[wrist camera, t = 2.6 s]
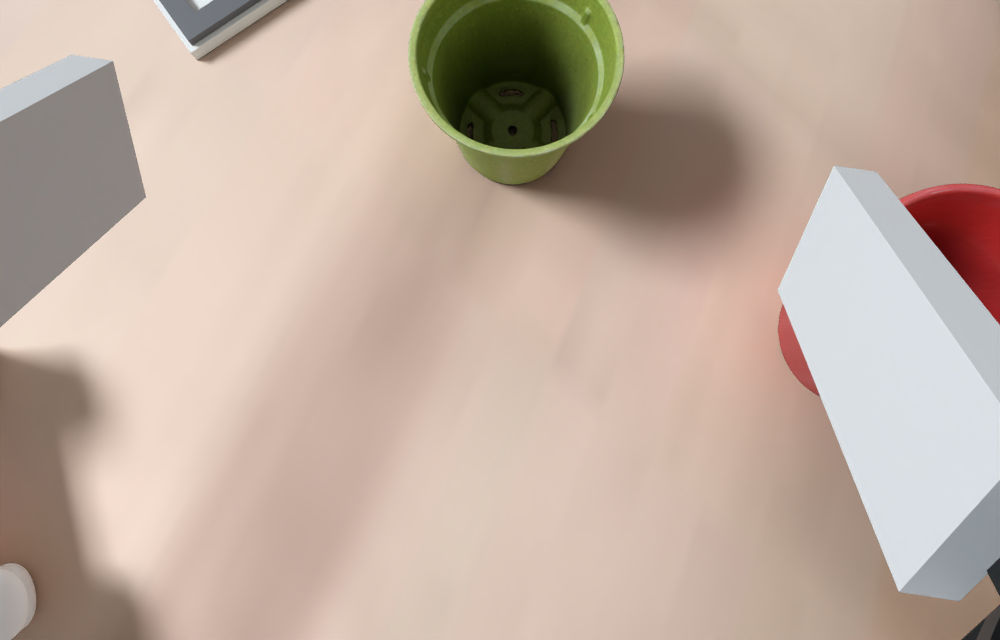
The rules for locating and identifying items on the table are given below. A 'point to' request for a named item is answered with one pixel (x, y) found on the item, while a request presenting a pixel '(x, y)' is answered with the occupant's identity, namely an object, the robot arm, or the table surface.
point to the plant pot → (515, 77)
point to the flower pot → (957, 234)
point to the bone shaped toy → (15, 600)
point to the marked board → (212, 20)
